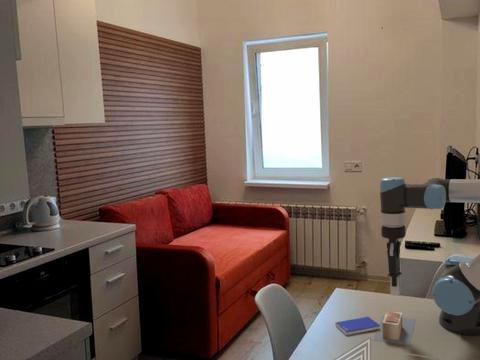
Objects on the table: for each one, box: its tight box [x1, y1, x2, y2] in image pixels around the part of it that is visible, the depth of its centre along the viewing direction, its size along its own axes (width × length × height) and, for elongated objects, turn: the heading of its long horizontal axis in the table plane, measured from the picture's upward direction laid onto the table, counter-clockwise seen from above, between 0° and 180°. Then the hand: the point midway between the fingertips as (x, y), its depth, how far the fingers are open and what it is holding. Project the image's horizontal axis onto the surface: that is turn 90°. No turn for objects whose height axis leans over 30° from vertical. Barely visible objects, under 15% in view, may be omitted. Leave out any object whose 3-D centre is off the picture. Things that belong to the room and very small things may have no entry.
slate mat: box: [373, 315, 416, 346], centre depth 157 cm, size 11×20×1 cm, turn 155°
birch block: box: [382, 310, 403, 340], centre depth 154 cm, size 5×5×10 cm
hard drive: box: [335, 316, 380, 336], centre depth 160 cm, size 2×8×12 cm
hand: (395, 294), depth 156 cm, fingers closed
